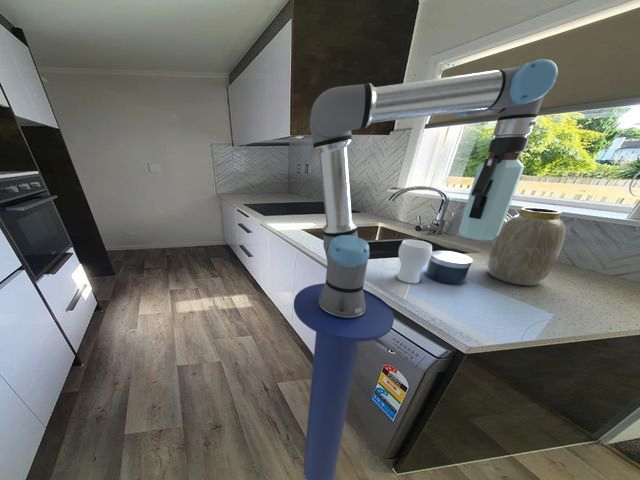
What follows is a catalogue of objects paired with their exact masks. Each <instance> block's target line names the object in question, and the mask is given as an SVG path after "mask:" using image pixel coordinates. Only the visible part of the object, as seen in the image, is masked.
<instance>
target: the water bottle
mask: <svg viewBox="0 0 640 480" xmlns="http://www.w3.org/2000/svg"><path fill="white" fill-rule="evenodd" d="M493 155H494V153H489V154H488V157H487V159H492V157H493ZM503 155H504V156H503V159H502V161H501V162H500V163H498V165H497V166H496V168H495V171H494V173H493V175H492V177H491V179H490V180H493V179H494V180H493V183H492V186H491V188H490V190H489V192H488V194H487V195H486V197H488V198H487V201H486V204H485V207H484V210H483V213H482V216H481V219H476V218H470V217H469V215H470V211H471V208H472V205H473V202H474V199H475V196H472V195H471V194H472V191H473V189H474V187H475V184H476V182H477V180H478V178H479V175H480V173H481V171H482V169H483V166H484V162H482V163H481V164H479V165H478V166H477V169H476V172H475V176H474V179H473V182H472V185H471V189H470V192H469V196H468V198H467V202H466V205H465V209H464V212H463V215H462V218H461V222H460V225H459V229H458V233H459V235H460V236H461V237H465V238H467V239H472V240H478V241H492V240H494V239H496V238H497V236H498V235H499V233H500V231H501V229H502V227H503V225H504V224H505V221H506V217H507V214H508V212H509V209H510V207H511V205H512V201H513V199H514V196H515V193H516V190H517V189H518V188H517V187H518V185H519V182H520V180H521V177H522V174H523V172H524V170H525V165H524V164H523V163H522V162H521V161H520V157H521V155H522V152H510V153H504V154H503ZM518 159H519V160H518Z"/></svg>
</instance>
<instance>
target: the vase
mask: <svg viewBox="0 0 640 480" xmlns="http://www.w3.org/2000/svg"><path fill="white" fill-rule="evenodd" d="M561 215H562V211H560V210H558V209H557V210H556V209H550V208H542V207H522V208H520V211H519V214H516V215H514V216H511V218H509V219H507V220H506V222H504V223H503V225H502V228H501V231H500V233H499V235H498V236H497V237H495V240H494V242H493V245H492V246H491V249H490V251H489V254H488V258H487V261H486V266H487V270H488V273H489V275H490V276H491V277H493V278H495V279H497V280H499V281H502V282H505V283H508V284H512V285H518V286H525V287H526V286H527V287H529V286H531V287H532V286H536V285H538V284H540V283H541V282H543V281H544V280H546V279H547V278H548V277H549V275H550V274H551V272H552V270H553V268H554V266H555V265H556V262H557V261H558V259H559V256H560V253H561V251H562V248H563V245H564V242H565V239H566V233H567V229H566V225H565V223H564V222H563V220H562V219H560V217H561Z"/></svg>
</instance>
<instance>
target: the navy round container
mask: <svg viewBox="0 0 640 480" xmlns="http://www.w3.org/2000/svg"><path fill="white" fill-rule="evenodd" d="M472 263H473V258H471V257H470V256H468V255H465V254H463V253H460V252H456V251H450V250H434V251H433V250H432V255H431V258H430V260H429V261H428V263H427V268H426V271H425V275H426V276H427V278H429V279H430V280H432V281H434V282H438V283H441V284H447V285H452V286H453V285H455V286H457V285H463V284H464V283H465V282H466V279H467V276H468V273H469V270H470V267H471V266H472Z"/></svg>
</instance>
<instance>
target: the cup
mask: <svg viewBox="0 0 640 480" xmlns="http://www.w3.org/2000/svg"><path fill="white" fill-rule="evenodd" d="M432 252H433V245H432V243H429V242H427V241H424V240H419V239H404V240H402V242H401V244H400V245H399V248H398V259H399V263H400V269H399V270H398V273H397V277H396V278H397V279H398V280H399V281H401V282H403V283H408V284H418V283H420V280H421V272H422V270H423V268H424V267H425V266H426V265H428V263H429V260H430V258H431V255H432Z"/></svg>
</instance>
